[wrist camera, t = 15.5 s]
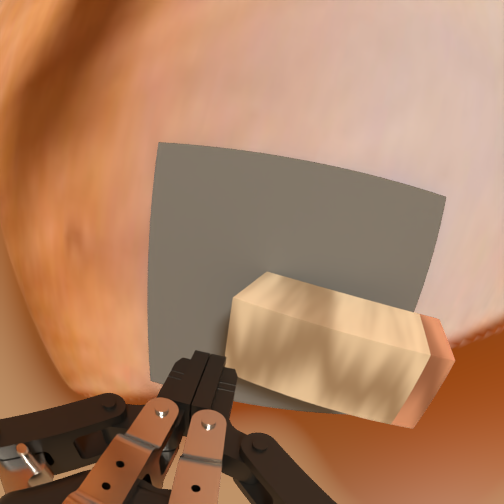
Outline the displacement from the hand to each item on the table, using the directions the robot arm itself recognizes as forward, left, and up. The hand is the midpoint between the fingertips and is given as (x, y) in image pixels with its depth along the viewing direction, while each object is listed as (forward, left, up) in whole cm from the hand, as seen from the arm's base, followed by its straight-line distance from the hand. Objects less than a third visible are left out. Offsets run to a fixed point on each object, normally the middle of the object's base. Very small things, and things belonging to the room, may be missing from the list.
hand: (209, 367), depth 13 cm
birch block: (0, +1, -5) cm, 5 cm away
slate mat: (0, +3, -8) cm, 9 cm away
